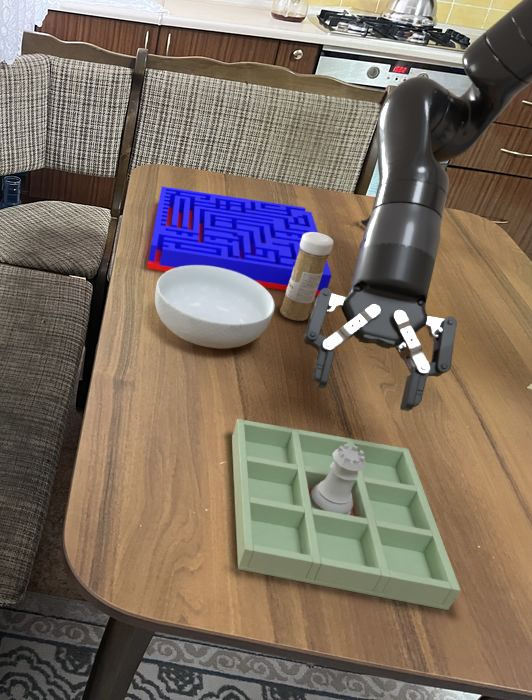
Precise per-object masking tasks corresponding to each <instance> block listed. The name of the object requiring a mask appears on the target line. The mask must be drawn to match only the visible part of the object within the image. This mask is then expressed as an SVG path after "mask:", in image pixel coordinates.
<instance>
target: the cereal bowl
mask: <svg viewBox="0 0 532 700" xmlns="http://www.w3.org/2000/svg"><path fill="white" fill-rule="evenodd" d="M154 294H155V295H154V304H155V305H154V306H155V310H156V312H157V315H158V317H159V319H160V320H161V322H162V324H163V325H165V327H166V328H167V329H168V330H169V331H170V332H172V334H174V335H176V336H177V337H179V338H181V339H183V340H184V341H187V342H189V343H191V344H194V345H198V346H201V347H206V348H212V349H232V348H233V349H234V348H238V347H242V346H245V345H247V344H250V343H252V342H254V341H255V340H257V339H258V338H259V337H260V336H262V335H263V333H264V332H265V331H266V329H267V328H268V327H269V324H270V322H271V320H272V318H273V315H274V313H275V308H276V307H275V300H274V297H273V296H272V294H271V293H270V292H269V290H268V289H267V288H266V287H263V286H262V285H260V284H259V283H257V282H256V281H254V280H252V279H251V278H249V277H247V276H245V275H242V274H240V273H237V272H234V271H231V270H227V269H224V268H219V267H213V266H204V265H189V266H181V267H177V268H174V269H171V270H169V271H164V273H162V274H161V275H160V276H159V278H158V280H157V282H156V286H155V292H154Z"/></svg>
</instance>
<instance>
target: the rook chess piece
mask: <svg viewBox="0 0 532 700" xmlns="http://www.w3.org/2000/svg"><path fill="white" fill-rule="evenodd" d="M348 447H349V444H344V445H343V447H342V446H340V448H339V449H337V450H335V451H334V452H333V454H332V455H333V459H334V462H332V463H331V465H330V468H331V470H330V472H329V474H328V476H327V477H326V479H325V480H323V481H321V482H320V483H318V484H316V485H315V486H314V487H313V489H312V491H311V493H310V494H309V496H310V502H311V508H313V509H319V510H324V511H329V512H335V513H340V514H346V515H350V513H351V509H352V507H353V499H352V493H351V489H352V485H353V481H354V479H356V478H357V477H358V471H360V470H362V469H364V468H365V466H366V464H365V460H364V458H365V457H364V452H363V451H362V450H361V451H359V452H358V451H357V449H358V447H357V446H354V445H353V447H352V448H348Z"/></svg>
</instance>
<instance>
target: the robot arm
mask: <svg viewBox="0 0 532 700" xmlns="http://www.w3.org/2000/svg"><path fill="white" fill-rule="evenodd" d="M461 63H462V67H463V71H464V72H465V74H466V76H467V77H468V79H469V80H470V82H471V84H470V85H469V87H468V88H467V90H466V91H465V92H464V93H463V94H461V95H460V96H458V95H456V94H454V93H453V92H452V91H450V90H449V89H448V88H446V87H445V86H443V85H442V84H440V83H439V82H438V81H436V80H434V79H432V78H429V77H425V76H413V77H410V78H407V79H405V80H403V81H402V82H400V83H399V84H398V85H396V87H394V88H393V89H392V90H391V92H390V93H389V94H388V95H387V97H386V98H385V100H384V102H383V104H382V106H381V108H380V112H379V115H378V119H377V124H376V145H377V146H376V147H377V168H378V176H379V177H378V180H379V182H378V185H377V186H378V187H377V188H376V193H375V197H374V201H373V205H372V210H371V214H370V215H371V216H370V215H369V216H370V219H369V221H368V224H367V226H366V229H364V232H363V235H362V239H361V242H360V243H359V253H358V256H357V260H356V261H357V262H356V264H355V268H354V272H353V277H352V281H351V285H350V289H349V293H348V294H347V295H346V296H342V295H340V294H339V295H338V294H335V293H333V292H332V290H331V289H330V288H329V287H328V288H324V289H322V290H321V291H320V293H319V295H318V296H317V297H316V299H315V302H314V304H313V307H312V311H311V314H310V317H309V319H308V323H307V327H306V329H305V332H304V335H303V343H304V344H305V345H307V346H311V347H312V348H314V350H316V352H317V356H316V360H315V365H314V367H313V368H314V369H313V373H312V380H313V381H312V382H317V383H316V388H318V389H323V390H324V389H325V388H326V387H327V385H328V383H329V382H328V381H329V379H330V374H331V369H332V365H333V362H334V357H335V352H334V350H336V349H337V348H338V347H339V346H341V345H342V344H344V343H346V342H347V341H348V340H349V339H351V338H352V337H354V338H355V339H357V340H358V343H361V344H362V343H363V344H374V345H377V346H378V347H380V348H384V349H387V350H390V349H393V348H395V349H396V351H397V354H398V355H399V357H400V358H401V360H403V361H404V363H405V365H406V367H407V368H408V371H409V373H410V374H409V375H407V376H406V379H405V385H404V389H403V393H402V397H401V403H400V407H399V408H400V409H399V410H402V411H406V412H411V411H412V410H413V409H414V408H415V407H417V406H419V405H420V404H421V403H422V401H423V395H424V392H425V391H424V390H425V387H426V383H427V378H428V377H441V376H442V375H443V374H446V373H448V372H449V371H450V370H451V366H452V360H453V352H454V345H455V340H456V339H455V338H456V332H457V324H458V321H457V319H456V318H455V317H453V316H446V317H445V318H441V317H435V316H429V315H428V314H427V310H426V306H427V305H426V304H427V300H428V296H429V290H430V287H431V281H432V278H433V274H434V269H435V264H436V260H437V254H438V252H439V251H438V250H439V246H440V240H441V227H442V220H443V216H444V212H445V206H446V202H447V197H448V193H449V188H450V178H449V174H448V173H447V171H446V170H445V168H444V167H443V165H441V163H445V162H449V161H451V160H453V159H456V158H457V157H460V156H461V155H463V154H464V153H466V152H467V151H468V150H469V149H470V148H472V147H473V145H475V143H477V141H478V140H479V139H480V138H481V137H482V136H483V135H484V133H485V132H486V131H487V129H488V128H490V126H491V125H492V124H493V123H494V121H496V120H497V118H498V117H499V116H500V115H501V114H502V112H503V111H504V110H505V109H506V108H507V107H508V105H509V104H510V103H511V102H512V101H513V100H514V98H515V97H516V96H517V95H518V94H519V93H520V92H521V91H522V90H524V89H526V88H527V87H528V86H530V84H532V0H521V1H519V3H517V4H516V5H514V6H513V8H511V9H510V10H509V11H508V12H507V13H505V14H504V15H503V16H502V17H501V18H500V19H499V20H497V21H496V22H495V23H494V24H493V25H491V26H490V27H489V28H488V29H487V30H486V31H485V32H483V33H482V34H481V35H480V36H478V37H477V38H476V39H475V40H474V41H472V42H471V43H470V44H469V46H468V47H467V48H466V49H465V50H464V52H463V55H462V58H461ZM336 308H340V309H341V313H342V314H343V316H344V319H345V321H346V323H345V324H344V325H342V326H341V327H340V328H339V329H338V330H336V331H335V332H333V333H332V334H331V335H329V336H328V337H326V336H324V335H323V334H321V333H320V332H321V329H322V326H323V324H324V321H325V317H326V315H330V314H332V313H333V312H334V310H335V309H336ZM424 327H425V328H426V329H427V330H428V334H429V337H430V338H431V339H433V345H432V346H433V347H432V352H431V360H430V362H429V361H428V359H427V357H426V355H425V354H424V352H423V346H422V344H421V342H420V340H419V338H418V336H417V334H416V333H418V332H419V331H420V330H421V329H423V328H424Z"/></svg>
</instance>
